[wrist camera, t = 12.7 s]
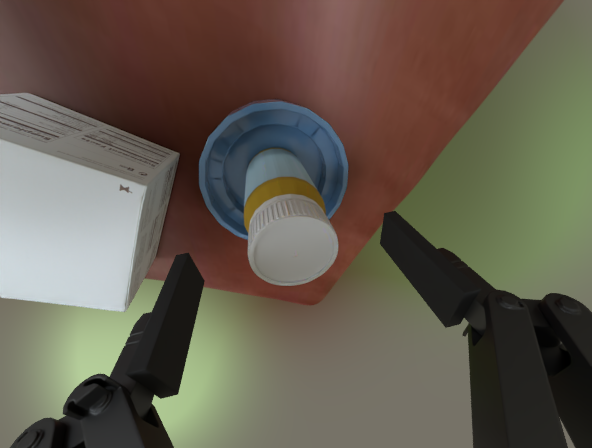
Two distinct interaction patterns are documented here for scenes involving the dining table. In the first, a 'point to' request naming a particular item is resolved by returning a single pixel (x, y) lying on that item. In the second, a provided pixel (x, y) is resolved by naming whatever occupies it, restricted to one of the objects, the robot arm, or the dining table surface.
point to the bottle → (286, 221)
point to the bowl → (262, 135)
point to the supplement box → (77, 205)
